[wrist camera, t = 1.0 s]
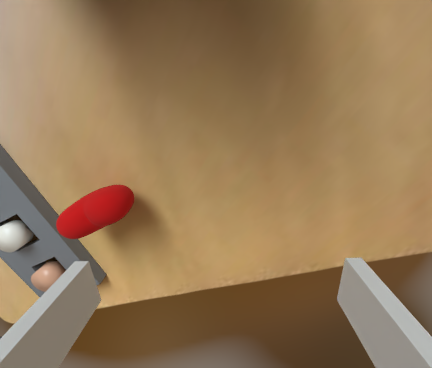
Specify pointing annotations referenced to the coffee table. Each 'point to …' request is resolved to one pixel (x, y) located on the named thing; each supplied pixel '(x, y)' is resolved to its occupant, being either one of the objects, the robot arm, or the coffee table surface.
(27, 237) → the cream button
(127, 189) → the heart
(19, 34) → the coffee table surface
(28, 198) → the panel
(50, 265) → the peach button
